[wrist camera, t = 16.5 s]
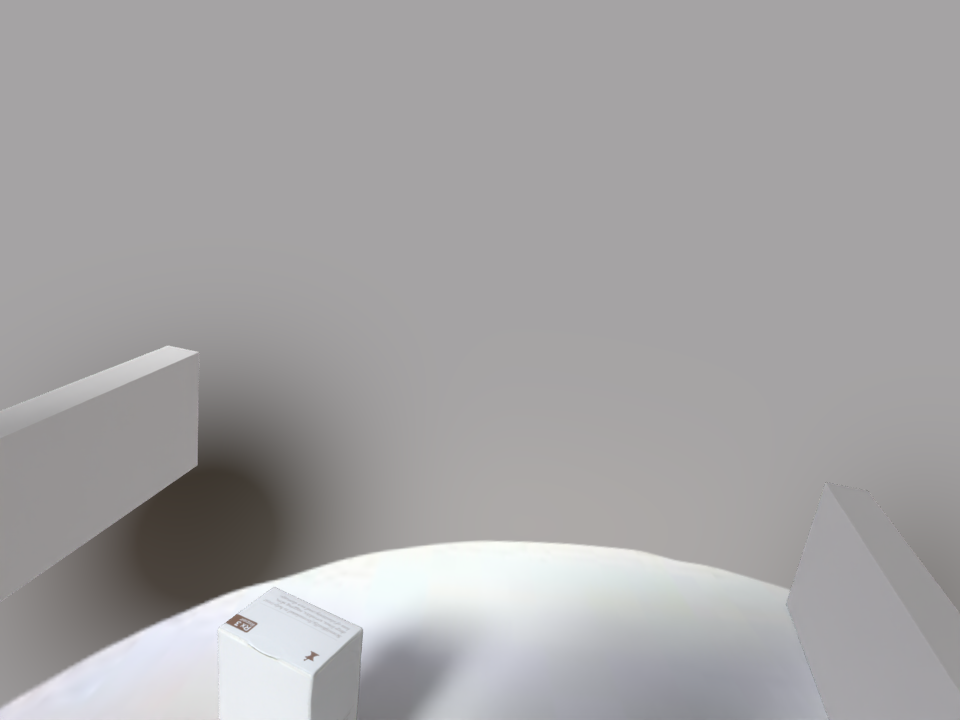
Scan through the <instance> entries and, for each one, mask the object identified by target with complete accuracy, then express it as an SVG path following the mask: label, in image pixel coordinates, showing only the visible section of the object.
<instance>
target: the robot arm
mask: <svg viewBox="0 0 960 720" xmlns="http://www.w3.org/2000/svg"><path fill="white" fill-rule="evenodd" d="M198 396H199V352H196V351H191V350H187V349H182V348H176V347H172V346H166V347H163V348H161V349H158V350H156V351H153V352H151V353H148V354H145V355H143V356H140V357H137V358H135V359H132V360H130V361H127V362H125V363H122V364H120V365H117V366H114V367H112V368H109V369H107V370H104V371H101V372H99V373H96V374H94V375H91V376H88V377H86V378H83V379H81V380H78V381H76V382H73V383H70V384H68V385H66V386H63V387H60V388H58V389H55V390H53V391H50V392H48V393H45V394H42V395H40V396H37V397H35V398H32V399H29V400H27V401H24V402H22V403H19V404H17V405H14V406H11V407H9V408H7V409H4V410H1V411H0V602H1V601H2V600H4V599H5V598H7V597H8V596H10V595H11V594H13V593H14V592H15V591H17V590H18V589H20V588H21V587H23V586H24V585H25V584H27V583H28V582H30V581H31V580H33V579H34V578H36V577H37V576H38V575H40V574H41V573H43V572H44V571H46V570H47V569H49V568H50V567H51V566H52V565H54V564H56V563H57V562H59V561H60V560H61V559H63V558H64V557H66V556H67V555H69V554H70V553H71V552H73V551H74V550H76V549H77V548H79V547H80V546H82V545H83V544H84V543H86V542H87V541H89V540H90V539H92V538H93V537H95V536H96V535H97V534H99V533H100V532H102V531H103V530H105V529H106V528H108V527H109V526H110V525H112V524H113V523H115V522H116V521H117V520H119V519H120V518H122V517H123V516H125V515H126V514H128V513H129V512H131V511H132V510H133V509H135V508H136V507H137V506H139V505H140V504H142V503H144V502H145V501H146V500H148V499H149V498H151V497H152V496H154V495H155V494H156V493H158V492H159V491H161V490H162V489H164V488H165V487H166V486H168V485H169V484H171V483H172V482H174V481H175V480H177V479H178V478H180V477H181V476H182V475H184V474H185V473H187V472H188V471H190V470H191V469H192V468H194V467H195V466H197V452H198ZM786 605H787V607H788V610H789V613H790V615H791V618H792V621H793V624H794V626H795V629H796V632H797V634H798V637H799V640H800V643H801V645H802V648H803V651H804V653H805V656H806V659H807V661H808V664H809V667H810V670H811V672H812V675H813V678H814V680H815V683H816V686H817V689H818V691H819V694H820V697H821V699H822V702H823V705H824V707H825V710H826V713H827V716H828V718H829V720H960V612H959V611H958V610H957V608H956V607H955V606H954V604H953V603H952V602H951V600H950V599H949V598H948V596H947V595H946V594H945V592H944V591H943V590H942V588H941V587H940V586H939V585H938V583H937V582H936V580H935V579H934V578H933V576H932V575H931V574H930V573H929V571H928V570H927V568H926V567H925V566H924V565H923V564H922V562H921V561H920V559H919V558H918V557H917V555H916V554H915V553H914V551H913V550H912V549H911V547H910V546H909V545H908V543H907V542H906V541H905V539H904V538H903V537H902V535H901V534H900V533H899V531H898V530H897V529H896V527H895V526H894V525H893V523H892V522H891V521H890V519H889V518H888V517H887V515H886V514H885V513H884V511H883V510H882V509H881V507H880V506H879V505H878V503H877V502H876V501H875V499H874V498H873V497H872V496H871V494H870V493H869V491H867V490H862V489H857V488H852V487H848V486H843V485H838V484H833V483H828V482H825V485H824V488H823V491H822V494H821V497H820V500H819V503H818V507H817V510H816V513H815V516H814V519H813V522H812V525H811V528H810V532H809V534H808V538H807V541H806V544H805V547H804V550H803V553H802V556H801V559H800V562H799V565H798V568H797V572H796V575H795V578H794V581H793V584H792V588H791V590H790V593H789V596H788V600H787V603H786Z"/></svg>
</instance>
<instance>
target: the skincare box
mask: <svg viewBox="0 0 960 720" xmlns="http://www.w3.org/2000/svg"><path fill="white" fill-rule="evenodd" d="M217 633H218V686H219V720H357V707H358V694H359V679H360V665H361V651H362V639H363V629H362V628H361V627H359V626H357V625H355V624H352V623H350V622H348V621H346V620H344V619H342V618H340V617H337V616H335V615H333V614H331V613H329V612H327V611H325V610H322V609H320V608H318V607H316V606H314V605H312V604H310V603H307V602H305V601H303V600H301V599H299V598H297V597H295V596H293V595H291V594H288V593H286V592H284V591H282V590H280V589H278V588H276V587H273V588H272V589H270V590H269V591H267V592H266V593H265V594H263V595H262V596H260V597H259V598H258V599H256V600H255V601H254V602H252V603H251V604H250V605H248V606H247V607H246V608H244V609H243V610H242V611H240V612H239V613H238V614H236V615H235V616H234V617H232V618H231V619H230V620H229V621H227V622H226V623H224V624H223V625H221V626H220V627H219V628H218V632H217Z"/></svg>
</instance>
